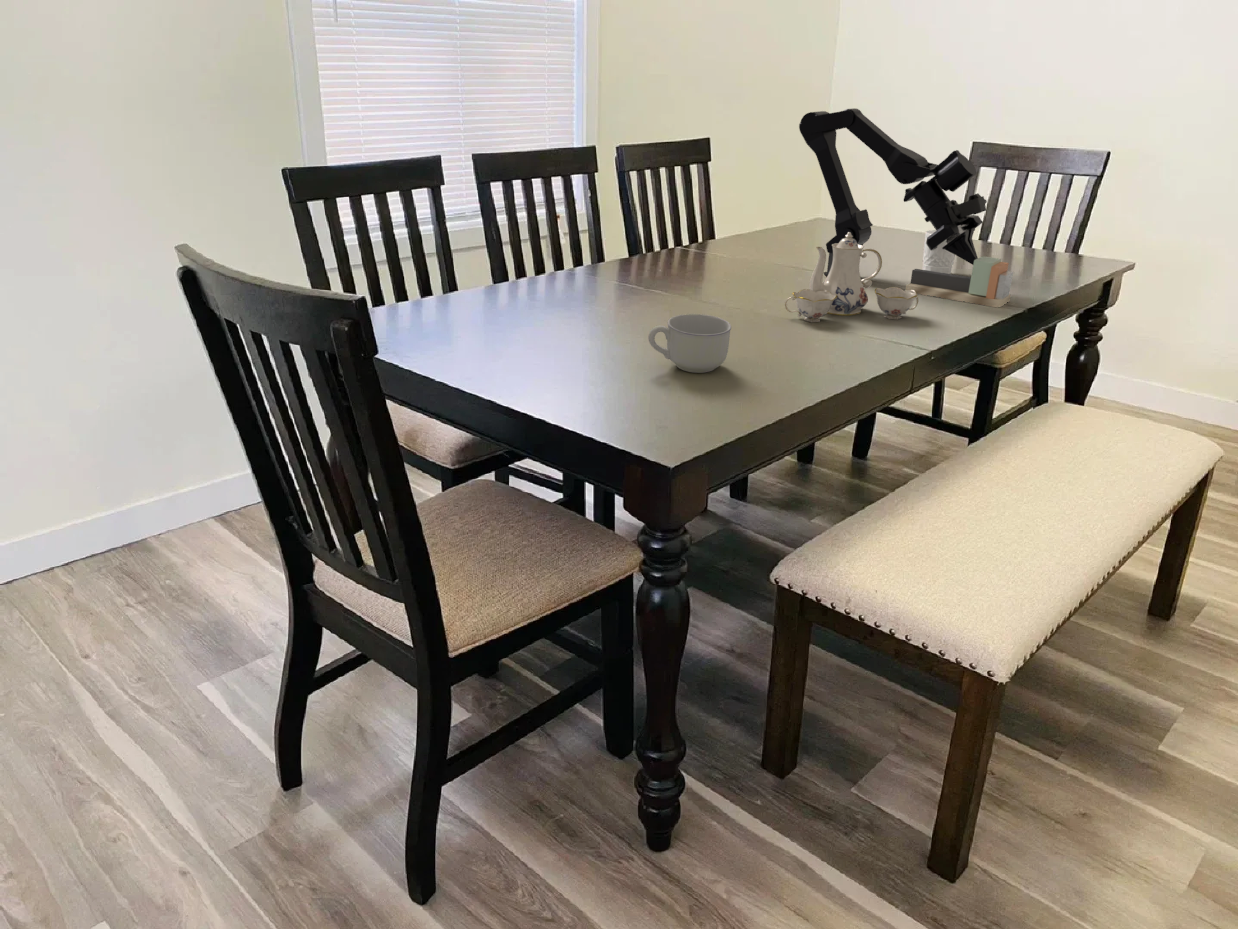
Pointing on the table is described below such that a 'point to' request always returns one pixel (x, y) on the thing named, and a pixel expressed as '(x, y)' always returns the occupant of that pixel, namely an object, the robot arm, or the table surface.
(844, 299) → the chinaware
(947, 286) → the rail
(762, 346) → the table surface
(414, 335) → the table surface
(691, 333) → the teacup
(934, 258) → the white cup
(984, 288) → the sleeve
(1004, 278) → the connector
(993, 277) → the band
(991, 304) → the track board
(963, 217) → the robot arm
